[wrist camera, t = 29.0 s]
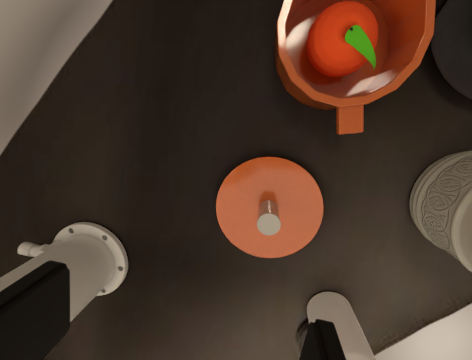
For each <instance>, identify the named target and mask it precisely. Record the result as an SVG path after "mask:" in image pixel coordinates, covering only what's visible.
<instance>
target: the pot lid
mask: <svg viewBox="0 0 472 360" xmlns="http://www.w3.org/2000/svg"><path fill="white" fill-rule="evenodd" d="M323 211H324V205H323V198H322V194H321V191H320V189H319V186H318V185H317V183H316V181H315V180H314V178H313V177H312V176H311V175H310V174H309V173H308V172H307V171H306V170H305V169H304V168H303V167H301V166H300V165H298V164H296V163H295V162H293V161H290V160H288V159H284V158H280V157H273V156H265V157H258V158H254V159H251V160H248V161H246V162H244V163H242V164H240V165H239V166H237V167H236V168H235V169H233V170H232V171H231V172H230V173H229V174H228V176H227V177H226V178H225V180H224V181H223V183H222V185H221V187H220V189H219V192H218V195H217V200H216V214H217V219H218V222H219V225H220V227H221V229H222V231H223V233H224V234H225V236H226V237H227V238H228V239H229V240H230V242H231V243H233V244H234V245H235V246H236V247H238V248H239V249H240V250H242V251H244V252H246V253H248V254H251V255H254V256H257V257H263V258H279V257H283V256H287V255H290V254H293V253H295V252H297V251H299V250H300V249H302V248H303V247H304V246H306V245H307V244H308V243H309V242H310V241H311V240H312V239H313V237H314V236H315V235H316V233H317V231H318V229H319V227H320V225H321V222H322V218H323Z"/></svg>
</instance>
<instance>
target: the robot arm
mask: <svg viewBox="0 0 472 360" xmlns="http://www.w3.org/2000/svg"><path fill="white" fill-rule="evenodd" d="M18 254H21V255H26V256H30V257H32V256H33V257H35V258H33V259H31V260H29V261H28V262H26V263H24V264H23V265H21V266H19V267H18V268H16V269H14V270H13V271H11V272H9V273H7V274H6V275H4V276H2V277H1V278H0V360H42V359H43V358H44V357H45V356H46V355H47V354H48V353H49V352H50V351H51V350H52V348H53V347H54V346H55V345H56V344H57V343H58V342H59V341H60V340H61V339H62V338H63V337H64V336H65V334H66V333H67V331H68V330H69V327H70V322H71V321H72V320H73V319H74V318H75V317H76V316H77V315H78V314H79V313H80V312H81V311H82V310H83V309H84V308H85V307H86V306H87V305H88V304H89V303H90V301H91V300H92V299H93V298H94V297H95V296H99V295H105V294H108V293H110V292H112V291H114V290H115V289H116V288H118V287H119V285H120V284H121V283H122V282H123V280H124V279H125V277H126V274H127V272H128V257H127V254H126V251H125V249H124V247H123V245H122V243H121V242H120V241H119V239H118V238H117V237H116V236H115V235H114V234H113V233H112V232H110V231H109V230H108V229H106V228H104V227H102V226H100V225H98V224H94V223H90V222H78V223H75V224H71V225H70V226H68V227H66V228H64V229H63V230H61V231H60V232H59V233H58V234H57V235H56V237H55V239H54V241H53V243H51V244H50V245H48V244H44V245H42V246H40V245H38V244H34V243H30V242H23V243H22V244H21V245H20V246H19V247H18ZM299 360H346V358H345V355H344V352H343V349H342V346H341V343H340V340H339V337H338V334H337V331H336V328H335V325H334V323H333V322H330V321H325V320H321V319H316V320H315V323H314V322H310V324H309V327H308V331H307V334H306V338H305V341H304V345H303V349H302V352H301V356H300V359H299Z"/></svg>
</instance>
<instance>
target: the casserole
mask: <svg viewBox="0 0 472 360" xmlns="http://www.w3.org/2000/svg"><path fill="white" fill-rule="evenodd" d="M431 50H432V53H433V56H434V59H435V62H436V65H437V67H438V69H439V70H440V72H441V74H442V75H443V77H444V79H445V80H446V81H447V82H448V83H449V84H450V85H451V86H452V87H453V88H454V89H455V90H456V91H458V92H459V93H461V94H462V95H464V96H465V97H467V98H469V99H471V100H472V0H447V2H446V3H445V5H444V6H443V8H442V9H441V11H440V12H439V14H438V15H437V17H436V18H435V23H434V34H433V36H432V39H431Z"/></svg>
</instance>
